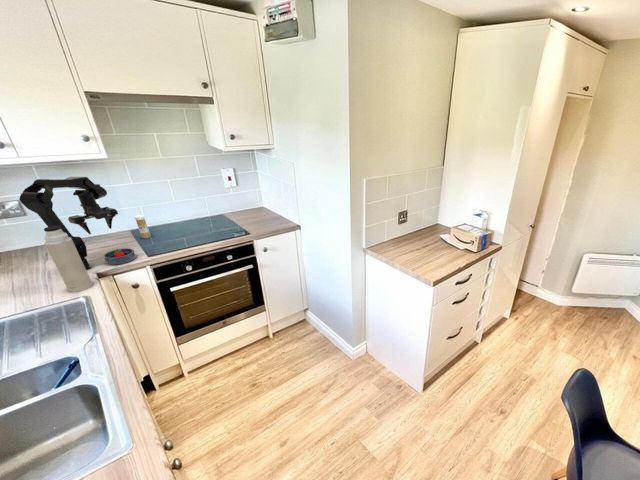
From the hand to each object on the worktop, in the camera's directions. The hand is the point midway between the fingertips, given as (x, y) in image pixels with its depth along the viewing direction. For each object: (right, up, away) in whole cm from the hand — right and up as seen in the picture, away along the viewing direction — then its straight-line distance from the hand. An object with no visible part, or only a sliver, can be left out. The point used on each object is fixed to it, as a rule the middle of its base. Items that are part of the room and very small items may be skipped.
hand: (100, 231), depth 168 cm
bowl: (+13, -15, -2) cm, 20 cm away
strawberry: (+13, -15, -3) cm, 20 cm away
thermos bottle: (+16, -28, -26) cm, 41 cm away
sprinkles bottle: (+4, -1, +25) cm, 25 cm away
